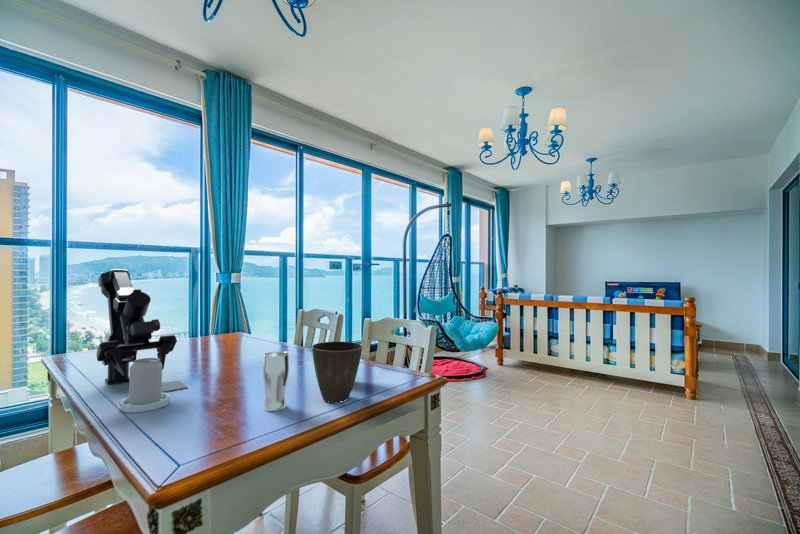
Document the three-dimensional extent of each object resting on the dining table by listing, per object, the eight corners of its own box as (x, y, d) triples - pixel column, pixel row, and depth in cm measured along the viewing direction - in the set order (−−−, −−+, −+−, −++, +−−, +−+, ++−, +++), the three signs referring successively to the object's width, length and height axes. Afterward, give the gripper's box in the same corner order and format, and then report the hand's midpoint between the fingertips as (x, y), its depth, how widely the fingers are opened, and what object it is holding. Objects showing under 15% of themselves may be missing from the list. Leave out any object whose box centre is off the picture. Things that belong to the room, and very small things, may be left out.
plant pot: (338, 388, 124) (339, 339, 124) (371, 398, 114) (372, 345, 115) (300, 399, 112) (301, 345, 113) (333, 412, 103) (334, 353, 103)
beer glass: (263, 414, 100) (265, 357, 101) (260, 405, 107) (261, 352, 107) (290, 410, 104) (291, 355, 104) (285, 402, 110) (286, 350, 110)
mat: (143, 387, 121) (143, 385, 121) (179, 381, 128) (179, 380, 128) (150, 394, 114) (150, 393, 114) (187, 388, 120) (187, 387, 120)
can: (134, 409, 100) (136, 364, 100) (124, 403, 104) (125, 359, 104) (165, 402, 106) (167, 359, 106) (154, 396, 110) (155, 355, 110)
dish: (116, 404, 105) (116, 397, 105) (163, 395, 113) (164, 389, 113) (123, 416, 97) (123, 409, 97) (173, 405, 105) (174, 399, 105)
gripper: (100, 312, 103) (109, 361, 96) (175, 308, 117) (188, 350, 110) (92, 337, 108) (100, 384, 101) (166, 330, 122) (177, 371, 115)
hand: (144, 371), depth 106 cm, fingers open, 9 cm apart
